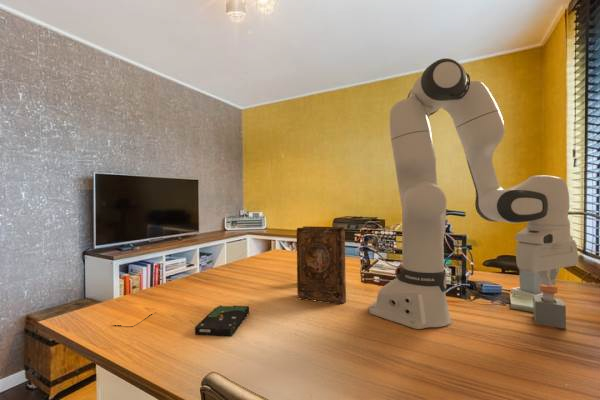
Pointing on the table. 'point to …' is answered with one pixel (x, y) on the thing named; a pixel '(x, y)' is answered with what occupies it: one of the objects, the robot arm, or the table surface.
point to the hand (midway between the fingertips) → (549, 284)
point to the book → (321, 264)
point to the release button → (548, 292)
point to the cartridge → (530, 282)
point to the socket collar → (522, 292)
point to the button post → (549, 312)
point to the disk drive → (222, 321)
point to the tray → (521, 302)
